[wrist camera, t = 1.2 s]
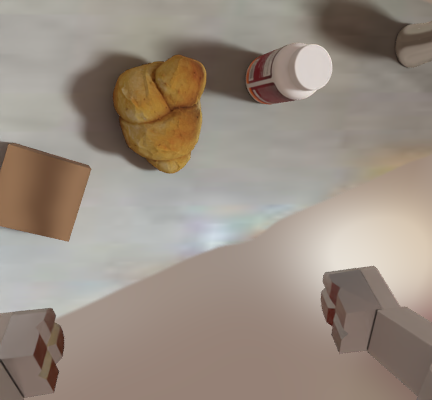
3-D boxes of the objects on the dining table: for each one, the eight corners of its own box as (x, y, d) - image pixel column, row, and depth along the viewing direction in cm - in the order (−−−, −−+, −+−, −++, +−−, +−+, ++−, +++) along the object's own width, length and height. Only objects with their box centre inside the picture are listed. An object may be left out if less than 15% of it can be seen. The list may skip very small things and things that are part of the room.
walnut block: (-7, 212, 44) (-16, 222, 40) (14, 142, 44) (8, 144, 39) (68, 230, 47) (68, 241, 43) (88, 165, 47) (91, 169, 42)
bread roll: (196, 168, 51) (218, 175, 44) (118, 176, 48) (128, 184, 41) (189, 62, 49) (211, 50, 42) (106, 63, 46) (114, 50, 38)
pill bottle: (292, 95, 54) (344, 87, 44) (252, 111, 53) (298, 106, 43) (278, 48, 53) (330, 28, 42) (237, 63, 51) (280, 47, 41)
